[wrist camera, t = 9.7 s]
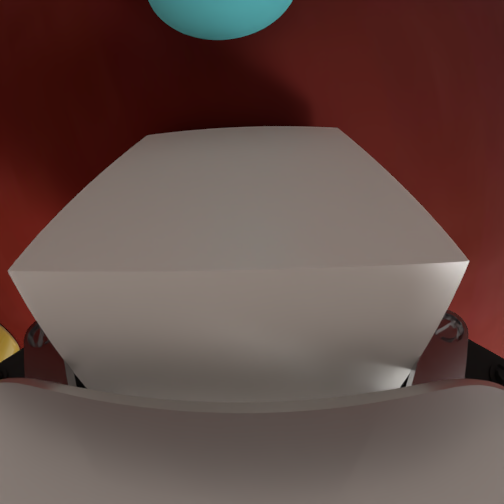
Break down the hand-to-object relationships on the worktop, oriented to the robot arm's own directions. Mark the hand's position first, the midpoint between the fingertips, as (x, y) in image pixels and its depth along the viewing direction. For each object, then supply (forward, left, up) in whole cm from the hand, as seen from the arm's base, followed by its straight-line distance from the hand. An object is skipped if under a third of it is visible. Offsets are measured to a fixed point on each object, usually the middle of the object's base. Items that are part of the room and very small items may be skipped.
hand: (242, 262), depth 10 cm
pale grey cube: (0, 0, -4) cm, 4 cm away
